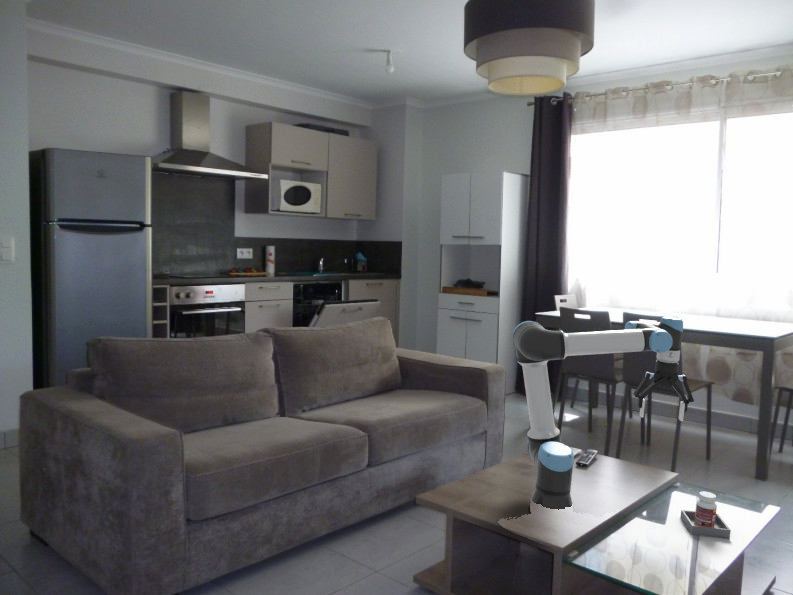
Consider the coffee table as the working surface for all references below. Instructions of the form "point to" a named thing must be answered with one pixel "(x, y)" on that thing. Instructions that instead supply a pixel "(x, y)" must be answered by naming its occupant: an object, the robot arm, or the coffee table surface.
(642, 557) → the coffee table surface
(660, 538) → the coffee table surface
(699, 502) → the pill bottle
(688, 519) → the tray
